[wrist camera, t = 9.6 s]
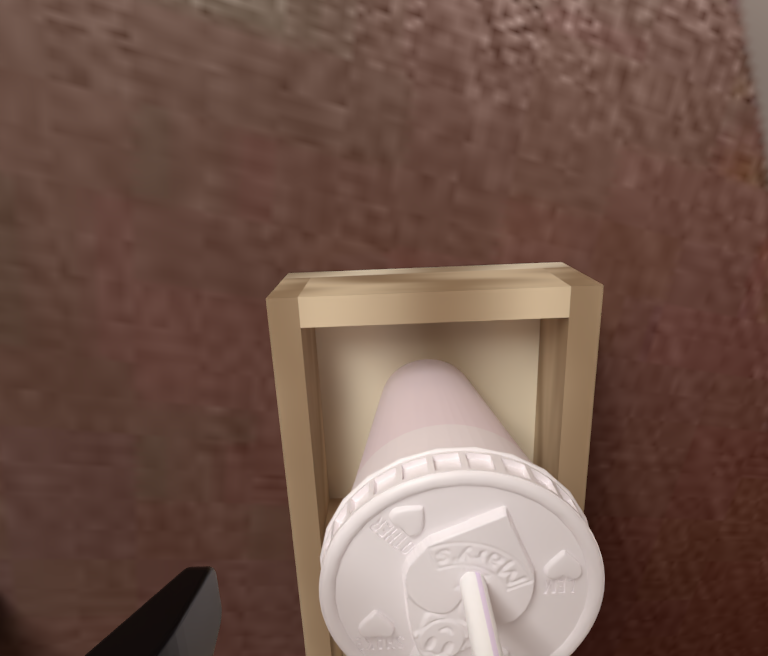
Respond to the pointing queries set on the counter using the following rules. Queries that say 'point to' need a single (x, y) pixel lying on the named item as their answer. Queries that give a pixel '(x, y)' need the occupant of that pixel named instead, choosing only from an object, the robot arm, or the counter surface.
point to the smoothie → (455, 535)
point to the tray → (417, 342)
